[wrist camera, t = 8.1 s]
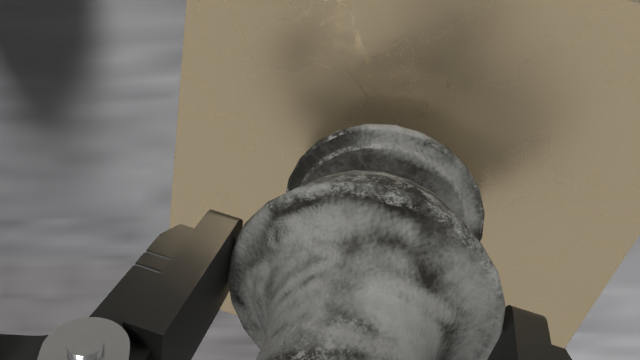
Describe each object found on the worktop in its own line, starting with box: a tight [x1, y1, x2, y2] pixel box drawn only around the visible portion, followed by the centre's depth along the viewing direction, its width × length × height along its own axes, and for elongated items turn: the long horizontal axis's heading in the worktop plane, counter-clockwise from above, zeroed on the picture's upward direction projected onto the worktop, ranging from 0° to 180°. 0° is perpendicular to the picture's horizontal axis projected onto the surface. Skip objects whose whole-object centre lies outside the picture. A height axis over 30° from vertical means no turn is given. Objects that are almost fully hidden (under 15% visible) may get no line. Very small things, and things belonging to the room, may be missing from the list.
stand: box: [169, 0, 640, 349], centre depth 19 cm, size 16×16×9 cm
